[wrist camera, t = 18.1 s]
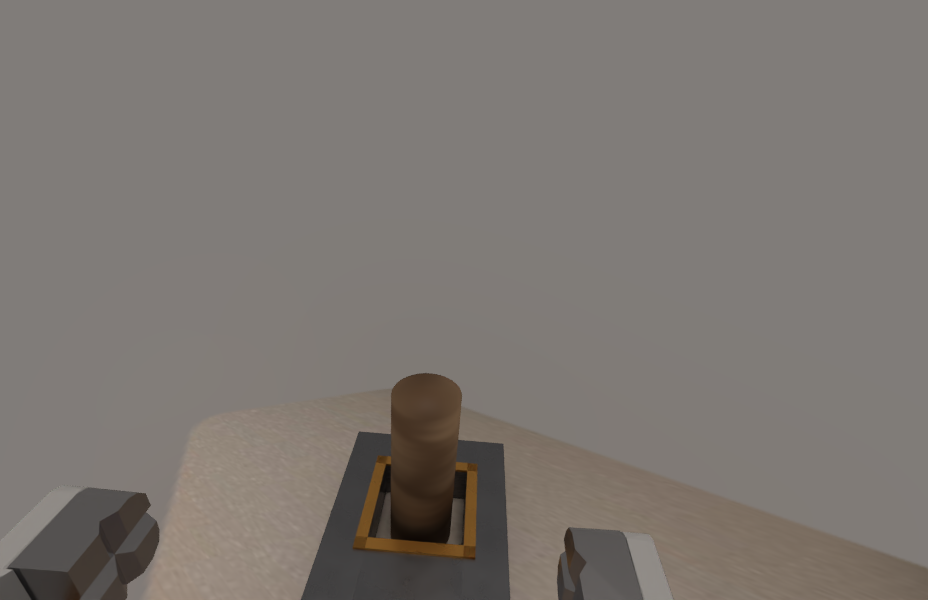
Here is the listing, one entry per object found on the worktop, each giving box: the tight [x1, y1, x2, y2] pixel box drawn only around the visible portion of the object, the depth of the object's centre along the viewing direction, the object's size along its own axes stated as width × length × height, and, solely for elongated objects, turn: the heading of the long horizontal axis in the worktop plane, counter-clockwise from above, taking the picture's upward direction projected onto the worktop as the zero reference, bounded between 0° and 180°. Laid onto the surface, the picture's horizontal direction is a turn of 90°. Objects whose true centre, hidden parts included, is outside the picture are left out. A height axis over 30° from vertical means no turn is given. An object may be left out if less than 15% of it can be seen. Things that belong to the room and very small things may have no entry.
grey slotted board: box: [301, 432, 510, 600], centre depth 30 cm, size 12×26×3 cm, turn 178°
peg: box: [391, 373, 462, 544], centre depth 33 cm, size 4×4×13 cm
